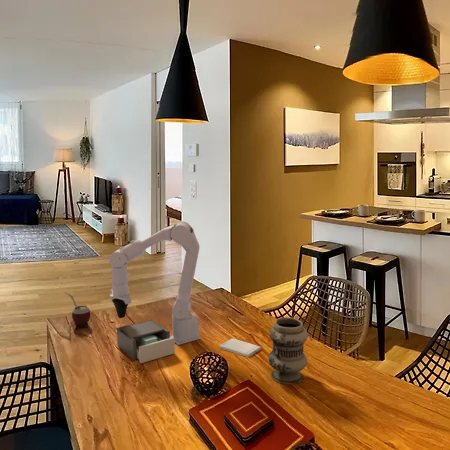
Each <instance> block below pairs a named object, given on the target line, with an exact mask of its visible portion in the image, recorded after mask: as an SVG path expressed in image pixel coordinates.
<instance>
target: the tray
mask: <svg viewBox="0 0 450 450" xmlns="http://www.w3.org/2000/svg"><path fill="white" fill-rule="evenodd" d="M152 335H154V334H152ZM154 336H155V337H156V338H157V342H154V343H150V344H147V345H143V346H140V337H138V338H134V339H135V340H136V359H138V361H139V364H144V363H147V362H150V361H153V360H157V359H161V358H163V357H164V358H165V357H166V356H170V355H174V354H176V348H175V347H176V345H175V338H174V337H172V338H169V339H165V340H161V339H160V338H159V337H157V336H156V335H154Z"/></svg>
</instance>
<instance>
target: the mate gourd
mask: <svg viewBox="0 0 450 450" xmlns="http://www.w3.org/2000/svg"><path fill="white" fill-rule="evenodd" d="M64 294H67V295H68V296H69V297H70V299H71V300H72V303H73V304H74V306H75V307H74V308H73V309H72V313H71V318H72V321H73V322H74V325H75V330H78V329H80V328H84V329H89V328H88V325H89V321H90V319H91V310H90V308H89V307H88V306H87V305H77V303H76V301H75V299H74V296H72V295H71V294H70V293H68V292H66V291H65V292H64Z"/></svg>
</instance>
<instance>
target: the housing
mask: <svg viewBox="0 0 450 450" xmlns="http://www.w3.org/2000/svg"><path fill="white" fill-rule="evenodd" d="M170 332H171V331H170V330H169V329H168V328H165V327H164V326H163V325H161V324H159V323H158V322H156V321H155V320H153V319H148V320H144V321H141V322H140V321H139V322H136V323H132V324H128V325H123V326H120V327H119V326H118V327H117V328H116V337H117V339H116V341H117V344H116V345H117V347H119V349H121V350H122V351H123V352H124V353H125V354H127V355H128V357H130V358H131V359H132V360H133V361H135V360H137V357H136V340H135V339H134V338H138V337H142V336H145V335H149V334H154V335H156V336H157V337H159V338H160V339H161V340H165V339H169V338H170V336H171V333H170Z"/></svg>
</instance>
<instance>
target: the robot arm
mask: <svg viewBox="0 0 450 450" xmlns="http://www.w3.org/2000/svg"><path fill="white" fill-rule="evenodd" d="M172 240H173V241H174V242H175V243H176V244H178V245H180V246H181V247H182V248H183V250H185V254H184V259H183V264H182V265H183V266H182V270H181V277H180V280H179V281H180V282H179V288H178V292H177V296H176V299H175V302H174V304H173V306H172V308H171V315H172V316H171V319H172V335H170V338H172V337H174V338H175V343H176V345H178V346H179V345H183V344H186V343H187V344H188V343H191V342H194V341H197V340H200V339H201V336H200V323H199V322H200V321H199V318H198V316H197V315H196V314H195V313H192V312H191V311H190V309H191V307H192V305H193V304H192V299H191V296H192V288H193V284H194V279H195V278H194V277H195V273H196V269H197V268H196V267H197V263H198V259H199V253H200V252H199V251H200V244H199V241H198V239H197V236H196V234H195V230H194V228H193V227H192V226H191V225H190V224H189V223H188V222H186V221H179V222H177V223H176V224H171V225H169V226H167V227H165V228H163V229H160V230H159V231H157V232H156V233H154V234H152V235H150V236H149V237H147V238H145V239H143V240H140V239H136V240H135V239H132V240H130V242H129V243H128V244H127V245H125V246H120V247H119V248H118V249H117V250H115V251H114V252H112V253H111V255H110V256H109V258H108V259H109V260H108V261H109V264H110V265H111V286H112V287H111V289H110V294H109V298H111V302H112V304H113V305H114V307H115V311H116V315H117V317H118V318H119V319H123V318H125V317H126V314H127V309H128V306H129V304H132V298H131V297H130V292H129V276H128V275H129V274H128V273H129V272H128V262H131V261H133V260H135V259H137V258H139V257H141V256H143V255H144V254H145V253H146V251H147V249H148V248H150V247H152V246H155V245H156V244H158V243H161V242H163V241H169V242H172Z"/></svg>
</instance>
